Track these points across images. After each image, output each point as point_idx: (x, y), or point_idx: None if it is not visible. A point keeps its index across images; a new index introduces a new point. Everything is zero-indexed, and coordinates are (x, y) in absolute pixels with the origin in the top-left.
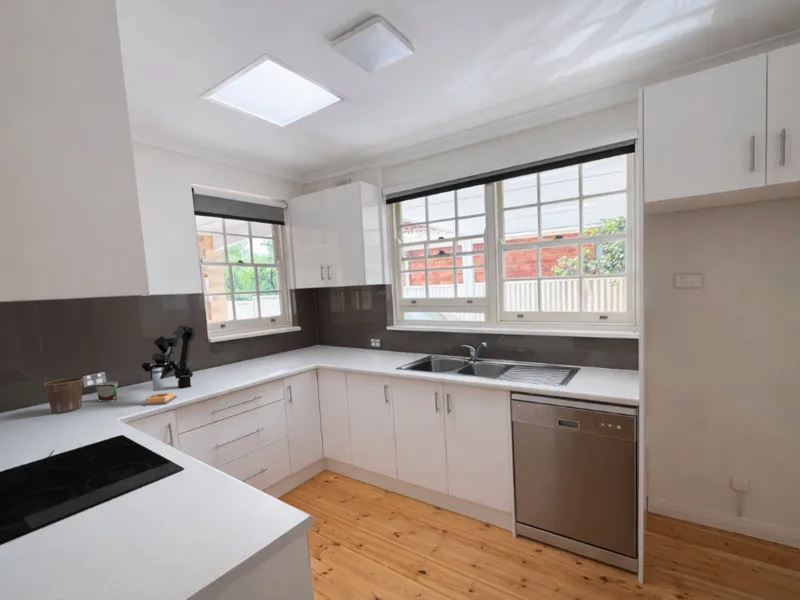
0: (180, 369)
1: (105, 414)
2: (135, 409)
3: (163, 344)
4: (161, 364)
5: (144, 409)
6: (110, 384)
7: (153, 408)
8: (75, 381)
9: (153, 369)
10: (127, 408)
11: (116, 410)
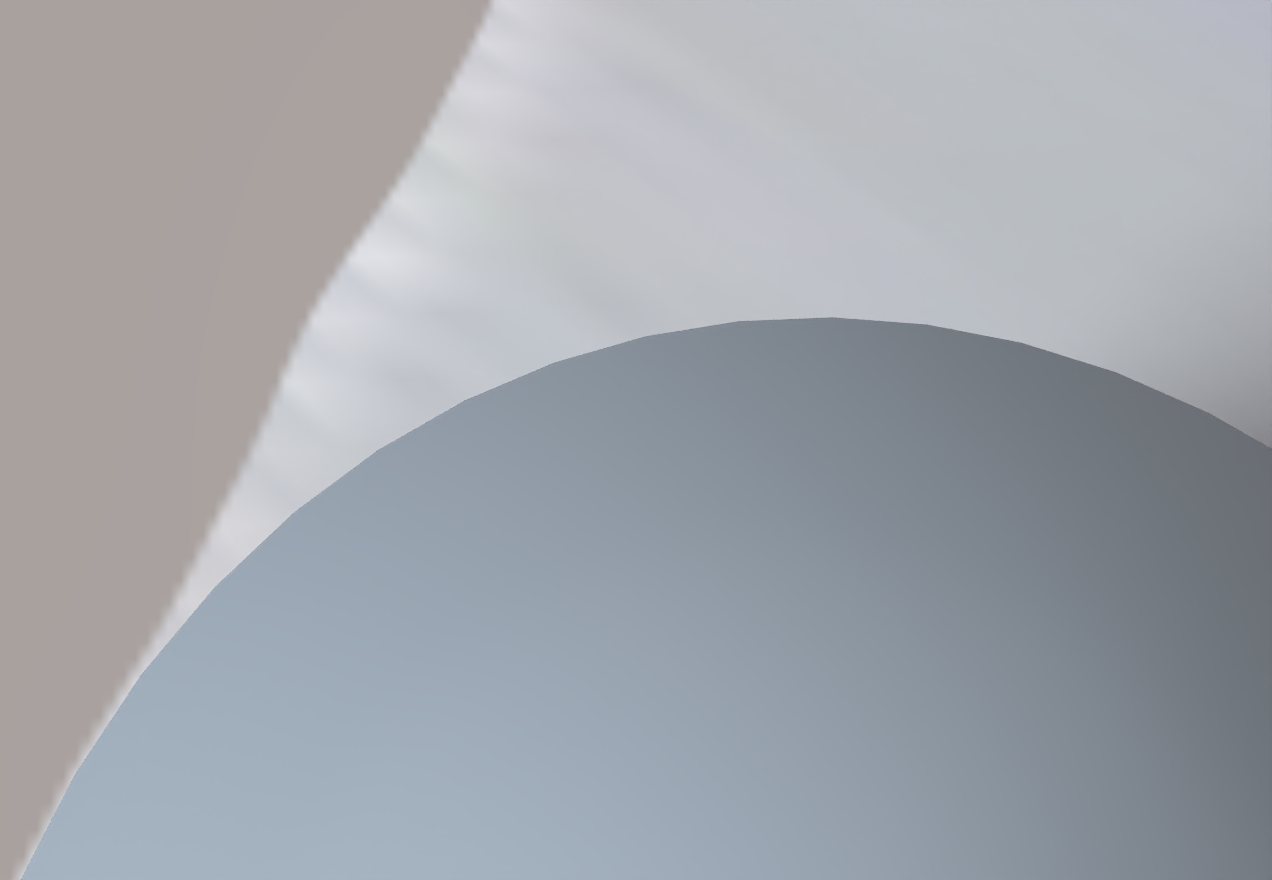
0: None
1: (1102, 6)
2: (746, 285)
3: None
4: None
5: (516, 298)
6: None
7: (343, 370)
8: None
9: (966, 463)
10: (1026, 332)
11: (1143, 206)
